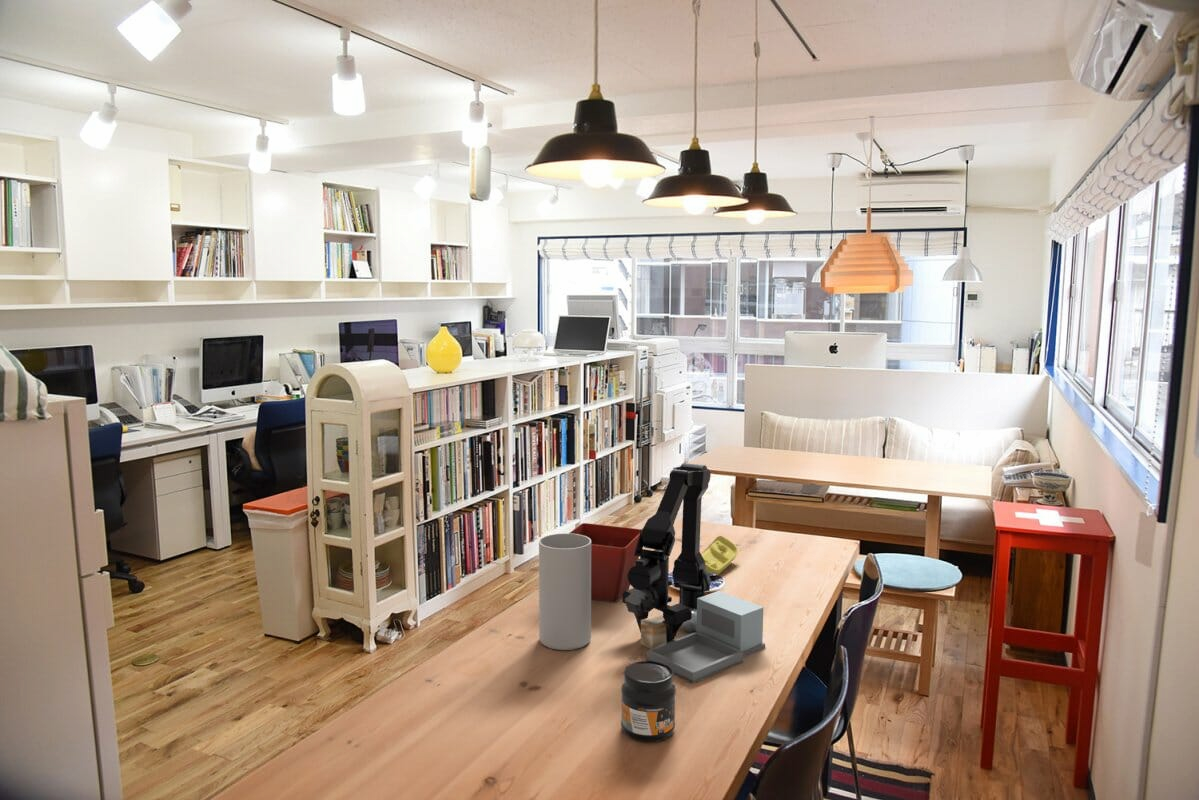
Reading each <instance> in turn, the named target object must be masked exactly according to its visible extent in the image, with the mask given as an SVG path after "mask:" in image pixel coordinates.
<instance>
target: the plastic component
mask: <svg viewBox="0 0 1199 800" xmlns="http://www.w3.org/2000/svg"><path fill="white" fill-rule="evenodd" d="M738 554H739V547H737V545H736V544H735V543H734V542H732V541H731V540H730V539H729V538H727V537H725V536H724V535H722V534H721V535H717V537H716V538H715V539H714V540H713V541H712V542H711V543H710V544H709V545H708V547H707V548H705V549H704V550H703V552H701V555H702V557H703V559H704V560H705V570H706V571H707V573H711V574H716V575H717V576H718V575H719V574H721V573H722V572H723V571H724V570H726V569H727V568H728V567H729V566H730V564H731V563H732V562H733V561H734V560H735V559H736V557H737V556H738Z"/></svg>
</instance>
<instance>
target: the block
mask: <svg viewBox="0 0 1199 800" xmlns="http://www.w3.org/2000/svg"><path fill="white" fill-rule="evenodd" d="M662 621H664V618H663V614H660V613H658V614H655V615H651V616H650V617H649V616H648V618H646V619H643V620H641V633H640V644H641V645H643V646H644V647H647V648H649V649H652V648H654V647H657V646H660V645H662V644H665V643H667V641H666V625H665V624H664V623H663V622H662Z"/></svg>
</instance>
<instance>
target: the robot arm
mask: <svg viewBox="0 0 1199 800" xmlns="http://www.w3.org/2000/svg"><path fill="white" fill-rule="evenodd" d="M711 474H712V473H711V470H710V469H709V468H708V467H707V465H706V464H705V465H704V464H695V463H686V462H683V463H681V465H679V466H676V467H672V469H671V471H670V473H669V477H668V478H669V479H668V482H667V485H666V488H665V490H664V493H663V495H662V498H661V500H660V503H659V504H658V505H659V506H658V508H657V510H656V512H655V514H654V515H652V516H651V517H649V518H647V520H646V522H645V524H644V525H643V528H641V529H642V530H641V532H640V536H639V539H638V543H637V546H636V550H635V553H634V555H635V556H639V559H637V560H636V565H635V566H633V567H632V568H631V569H630V570H629V572H628V581H629V583H630V587H632V588H630V589H628V590H626V591H625V592H624V593H623V595H622V596H621V598H622V601H621V602H622V603H623V604H625V607H626V609H627V612H629V613H633V615H634V616H635V620H636V623H637V626H638V630H639V631H640V632H639V633H640V634H641V620H643V619H646V618H649V613H650V612H651V611H652V610H653V609H656V610H657V611H660V612H662V616H663V618H664V621H662V622H663V623H664V624H665V625H666V641H667V643H668V642H670V641H673V640H675V638H676V636H677V634H678V632H679V630H680V629H681V625H682V624H683V622H686V621H687V620H690V619H692V610H691V609H690V608H694V609H697V598H700V597H703V596H706V595H705V593H706V592H710V590H711V581H712V579H711V577H710V576H709V575H708V573H707V571H706V570H705V560H704V559H703V557H702V555H701V554H702V552H700V549H701V547H700V546H701V545H700V543H701V523H702V522H701V520H702V519H701V518H702V499H703V498H702V497H703V496H704V495H705V493H706V492H707V490H708V489H709V483H710V481H711V477H712V475H711ZM681 505H682V523H681V524H682V527H681V549H680V551H681V552H680V554H679V555H678V557H677V558H676V559H674V562H673V567H672V568H673V569H672V579H673V581H672V580H671V579H669V578H670V576H669V570H670V569H669V568H670V565H669V563H670V558H669V557H671V553H672V550H673V548H674V545H675V542H676V537H675V535H676V530H675V527H674V525H675V521H676V518H677V516H678V514H679V511H680V508H681ZM672 585H673V586H674V588H676V589H679V599H678V600H679V601H678V603H675V604H673V605H669V603H670V602H671V603H672V600H673V597H672V596H670V595H669V587H670V586H672Z"/></svg>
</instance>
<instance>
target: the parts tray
mask: <svg viewBox="0 0 1199 800" xmlns="http://www.w3.org/2000/svg"><path fill="white" fill-rule="evenodd" d="M646 661H653V662H659V663H662V664H665V665H667V666H668V667H670V668H671V669H672V671H673V675H674V676H677V677H678V678H681V679H683V680H685V681H687V682H689V683H690V684H695V683H697V682H700V681H702V680H703V681H704V680H705V679H708V678H709V677H711V676H714V675H717V674H718V673H722V672H724V671H725V670H728V669H730V668H733V667H735V666H738V665H739V664H741V663H744V657H743V651H741V650H738V649H736V648H734V647H731V646H729V645H727V644H724V643H722V642H720V641H717V640H715V639H713V638H710V637H708V636H706V635H703V634H701V633H699V632H694V633H692V634H688V635H684V636H681V637H678V638H677V639H674V640H673V641H670V642H668V643H665V644H662V645H660V646H657V647H654V648H652V649H651V648H649V649H647V650H646Z"/></svg>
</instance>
